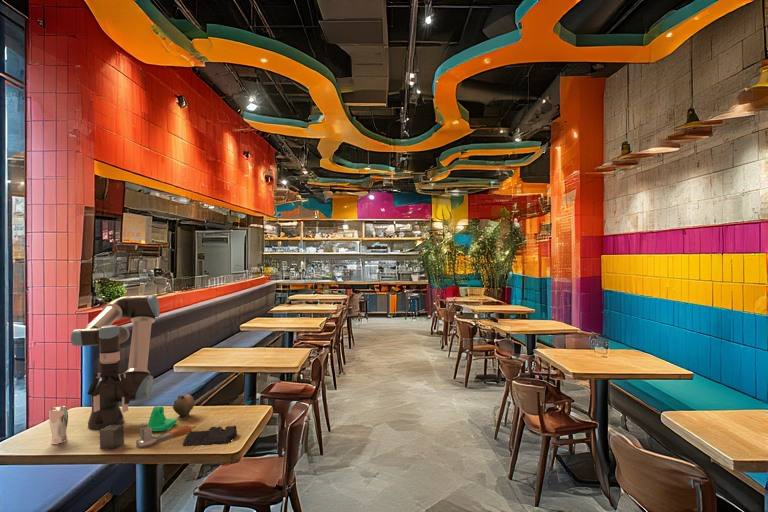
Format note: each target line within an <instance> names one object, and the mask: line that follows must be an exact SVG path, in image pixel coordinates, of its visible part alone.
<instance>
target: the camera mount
mask: <svg viewBox="0 0 768 512" xmlns="http://www.w3.org/2000/svg"><path fill="white" fill-rule="evenodd" d="M164 413H165V408H164V407H163V406H154V407H153V408H152V411H151V413H150V417H149V420H148V423H147V426H149V427H151V428H152V432H163V431H169V430H170V429H172V428H174V425H176V424H177V420H178V419H177V418H166V415H165V414H164Z"/></svg>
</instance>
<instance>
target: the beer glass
mask: <svg viewBox="0 0 768 512" xmlns="http://www.w3.org/2000/svg"><path fill="white" fill-rule="evenodd" d="M48 413H49V415H48V417H49V418H48V422H49V427H50V431H51V443H52V444H51V445H53V444H56V445H60V444H59V443H62V444H64V443H63V442H65V443H66V442H68V435H67V429H68V424H69V423H68V422H69V410H68V406H67V405H61V406H60V405H57V406H54V407H52V408H49V412H48Z"/></svg>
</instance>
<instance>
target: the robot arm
mask: <svg viewBox="0 0 768 512" xmlns="http://www.w3.org/2000/svg"><path fill="white" fill-rule="evenodd" d="M160 313H161V307H160V302H159V299H158V297H157V296H156V295H152V294H151V295H149V294H146V295H143V294H142V295H123V296H121V297H118V298H117V297H116V298H115V299H113V300H112V301H110V302H108V303H107V304H105V305H104V306H103V307H102V309H101V312H100V313H99V314H98V315H97V316H95V317H94V318H93V319H92V320H91V321H90V322H89V323H88V324H86V326H85V327H84V328H78V329H77V328H76V329H73V331H72V332H71V335H70V342H71V345H73V346H74V347H88V346H90V347H91V346H92V347H93V346H99V371H98V372H95V373H94V374H93V379H92V381H91V384H90V386H89V388H88V390H87V395H89V396H90V397H91V411H90V415H89V418H88V420H87V428H88V429H91V430H101V429H103V428H105V427H107V426H109V425H121V424H123V423H124V421H125V418H124V414H123V413H126V412H129V404H130V402H139V401H144V400H145V401H146V400H147V399H149V397H150V396H151V394H152V391H153V388H154V377H153V376H152V375H151V372H150V371H149V370H148V363H149V354H150V353H149V352H150V343H151V342H150V341H151V333H152V324H154V323H155V322H156V318H158V317H160ZM120 319H122V320H123V319H130V321H131V322H132V330H131V331H132V333H130V330H129V328H127V327H125V326H122V325H121V326H120V325H115V324H113V323H115V322H117V321H119V320H120ZM130 334H131V341H130V349H129V350H130V351H129V359H128V366H127V370H125V372H123V373H120V370H121V361H120V360H121V356H120V355H121V353H120V345H121V344H123V343H125V342H127V341H128V340H129V338H130ZM120 403H121V404H122V406H121V407H120ZM121 408H122V409H121Z"/></svg>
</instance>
